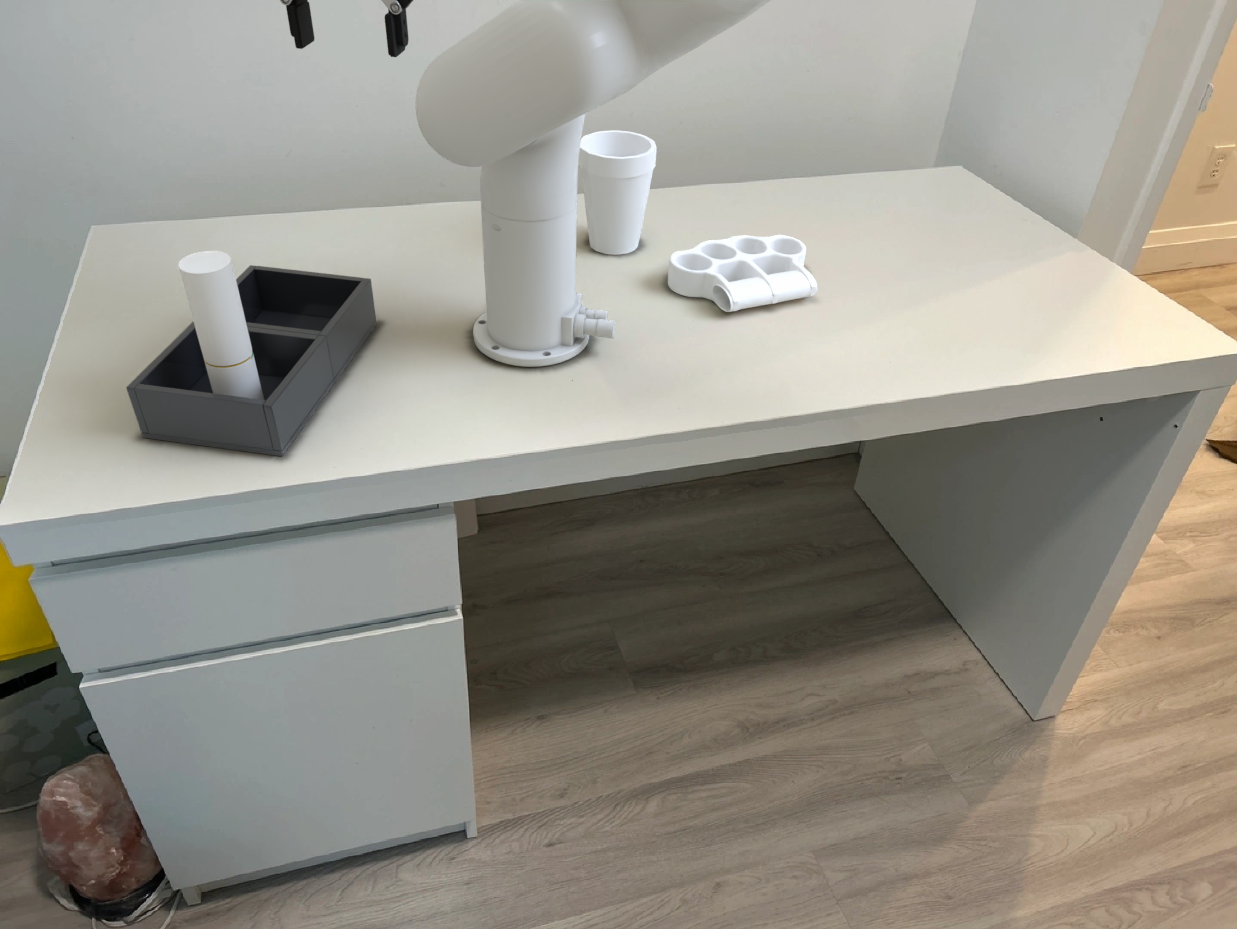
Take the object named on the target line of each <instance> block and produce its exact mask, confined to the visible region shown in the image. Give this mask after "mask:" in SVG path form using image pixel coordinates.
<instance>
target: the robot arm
mask: <svg viewBox="0 0 1237 929" xmlns="http://www.w3.org/2000/svg"><path fill="white" fill-rule="evenodd" d="M279 1H280V3H281V4H282V5H284V6H285V9H286V15H287V20H288V26H289V33H290V36H291V37H293V39H294V45H295V48H296V49H298V50H299V49H300V50H303V49H305V48H306V47H307V46H310V44H312V43H313V42H315V32H314V25H313V19H312V12H311V6H310V5H311V4H310V2H309V1H308V0H279ZM770 1H771V0H518V1H517V2H514V3H513V4H511V5H510V6H507V7H506V8H505V9H503V10H502V11H500V12H499V13H497V14H496V15H494V16H493V17H492V18H489V20H487V21H485V23H483V24H481V25H480V26H479V27H478V28H476V29H474V30H473V31H472V32H470V33H469V34H467V35H466V36H464V37H463V38H462V39H461V40H459V41H457V42H456V43H454V44H453V45H451V46H450V47H448V48H447V49H446V50H445V51H442V52H441V53H440V54H439V55H437V56H436V57H434V59H433V60H432V61H430V63H429V64H428V66H426V68H425V69H424V71H423V73H422V75H421V77H420V79H419V81H418V85H417V87H416V88H417V89H416V94H415V101H414V102H415V116H416V120H417V125H418V128H419V130H420V132H421V134H422V137H423V138H424V140H425V141H426V143H427V144H428V145H429V146H430V148H431V149H432V150H433V151H434V152H435V153H436V154H438V155H439V156H440V157H441V158H443V159H444V160H446V161H448V162H451V163H453V164H456V165H459V166H464V167H468V168H469V167H470V168H471V167H472V168H476V167H480V176H479V178H480V180H479V184H480V185H479V188H480V189H479V190H480V191H479V192H480V214H481V215H480V216H481V233H482V248H483V249H482V252H483V269H484V271H483V272H484V288H485V290H484V291H485V308H486V310H485V312H484V313H482V314H480V316H479V317H478V318H476V320H475V322H474V324H473V328H472V329H473V330H472V335H473V342H474V344H475V346H476V348H477V349H478V350H479V351H480V352H481V353H482V354H483V355H485V356H486V357H488V358H490V359H492V360H494V361H497V362H500V363H502V364H506V365H511V366H515V367H525V368H534V367H535V368H536V367H546V366H547V367H548V366H552V365H556V364H560V363H563V362H566V361H568V360H571V359H573V358H574V357H576V356H577V355H579V354H580V353H581V352H583V350H585V348H586V346H588V343H589V340H590V336H592V337H597V338H602V339H614V337H615V333H616V320H613V319H609V311H608V310H605V309H598V308H596V309H592V308H588V307H587V306H586V305H583V293H582V292H576V291H577V223H578V222H577V221H578V220H577V218H578V217H577V214H578V212H577V211H578V210H577V209H578V205H577V204H578V180H579V179H578V178H579V177H578V176H579V175H578V174H579V150H580V143H581V138H582V135H583V131H584V127H585V126H584V125H585V121H586V114H588V113H589V112H591V111H593V110H595V109H597V108H599V107H601V106H603V105H605V104H606V103H609V102H611V101H612V100H615V99H617V98H618V97H620V96H622V95H624V94H625V93H628V92H629V91H630V90H632V89H634V88H635V87H636V86H638V85H639V84H640V83H642V82H643V81H645V79H647V78H649V77H650V76H651V75H653V74H654V73H656V72H657V71H658V70H660V69H662V68H663V67H665V66H667V65H669V64H670V63H672V62H674V61H675V60H678V59H679V58H681V57H683V56H685V55H686V54H688V53H690V52H692V51H694V50H695V49H697V48H699V47H700V46H702V45H703V44H705V43H707V42H709V41H710V40H712V39H713V38H716V37H717V36H719V35H720V34H723V33H724V32H725V31H728V30H729V29H730V28H733V27H734V26H736V25H737V24H739V23H740V22H742V21H743V20H745V19H746V18H748V17H749V16H751V15H753V14H754V13H756V12H757V11H759V10H761V8H762V7H764V6H766V5H767V4H768V3H769V2H770ZM381 2H382V3H383V4H384V5H385V7H386V8H387V10H388V12H387V13H385V15H384V26H385V34H386V46H387V54H388V56H390V57H391V58H397V57H399V56H400V55H401V54H402V53H403V52H404V51H405V50H406V47H407V46H408V44H409V30H408V19H407V18H408V17H407V8H409V7H410V5H411V4H412V2H414V0H381Z"/></svg>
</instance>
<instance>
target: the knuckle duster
mask: <svg viewBox="0 0 1237 929" xmlns="http://www.w3.org/2000/svg"><path fill="white" fill-rule="evenodd" d="M806 254H807V246H806V245H805V243H804V242H803V241H802V240H800V239H798V238H796V237H793V236H790V235H785V234H774V235H769V236H755V235H750V234H749V235H748V234H746V235H745V234H744V235H743V234H742V235H732V236H730V237H727V238H723V239H708V240H704V241H702V242H699V243H698V244H697V245H696V246H694V247H692V248H690V249H685V250H676V251H674V252H673V253H671V255H670V257H669V261H668V270H667V271H668V273H667V285H668V287H669V289H670V290H671V291H672V292H675V293H676V294H678V295H681V296H684V297H688V298H704V299H706V300H710V301H713V302H714V303H715V304H716V306H718V308H719V309H720V310H722V311H723V312H726V313H730V312H731V313H732V312H737V311H739V310H744V309H745V310H746V309H751V308H755V307H761V306H765V305H773V304H777V303H782V302H788V301H792V300H793V301H794V300H797V299H804V298H808V297H809V298H810V297H814V296H816V295H817V294H818V288H819V287H818V282H817V281H816V278H815V277H814V275H813V274H812V273H811V272H810V271H809V270H808V269H807V268H806V267H805V266H804V265H805V260H806Z"/></svg>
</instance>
